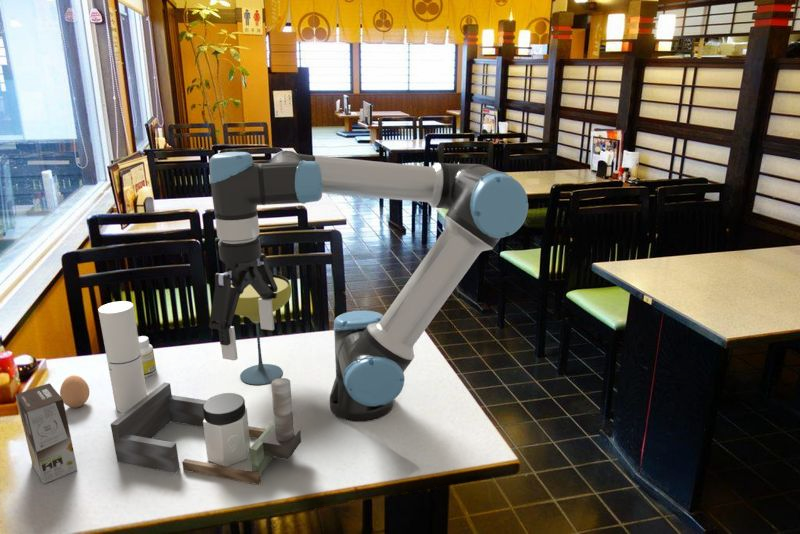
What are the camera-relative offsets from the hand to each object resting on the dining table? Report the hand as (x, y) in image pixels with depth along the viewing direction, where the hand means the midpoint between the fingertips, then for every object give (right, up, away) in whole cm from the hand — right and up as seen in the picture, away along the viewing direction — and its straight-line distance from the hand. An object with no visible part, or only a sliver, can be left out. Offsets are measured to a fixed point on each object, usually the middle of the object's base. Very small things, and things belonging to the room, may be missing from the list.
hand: (249, 343), depth 115 cm
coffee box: (-40, -25, +4) cm, 48 cm away
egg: (-47, -18, +25) cm, 57 cm away
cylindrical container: (-35, -18, +26) cm, 47 cm away
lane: (-11, -23, +9) cm, 27 cm away
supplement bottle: (-38, -13, +40) cm, 57 cm away
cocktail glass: (-7, -13, +39) cm, 42 cm away
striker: (+5, -24, +4) cm, 25 cm away
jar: (-6, -24, +7) cm, 26 cm away
